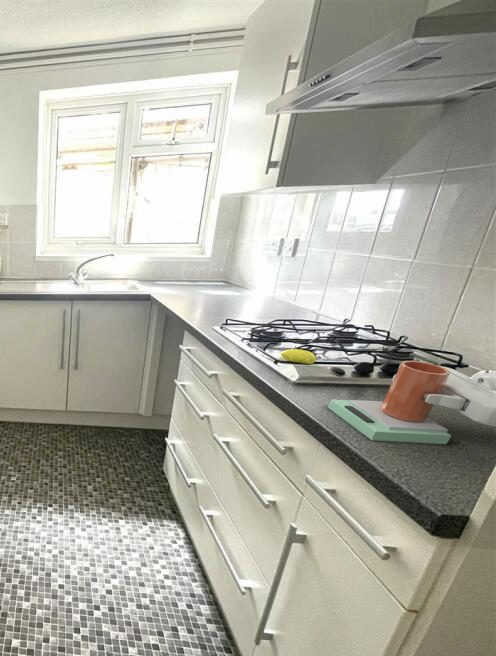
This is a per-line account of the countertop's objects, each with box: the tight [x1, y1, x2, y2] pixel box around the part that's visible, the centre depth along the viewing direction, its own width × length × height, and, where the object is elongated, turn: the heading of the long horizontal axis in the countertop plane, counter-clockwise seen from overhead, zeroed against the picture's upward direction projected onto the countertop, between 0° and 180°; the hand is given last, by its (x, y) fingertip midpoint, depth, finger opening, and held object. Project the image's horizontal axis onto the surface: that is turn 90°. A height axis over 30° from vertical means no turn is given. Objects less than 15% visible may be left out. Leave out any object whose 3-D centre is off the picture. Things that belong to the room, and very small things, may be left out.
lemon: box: [280, 348, 317, 365], centre depth 114 cm, size 4×8×4 cm, turn 58°
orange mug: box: [381, 360, 450, 422], centre depth 80 cm, size 7×7×10 cm
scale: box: [327, 399, 452, 445], centre depth 83 cm, size 13×13×3 cm
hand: (409, 388), depth 80 cm, fingers closed on orange mug, 7 cm apart
